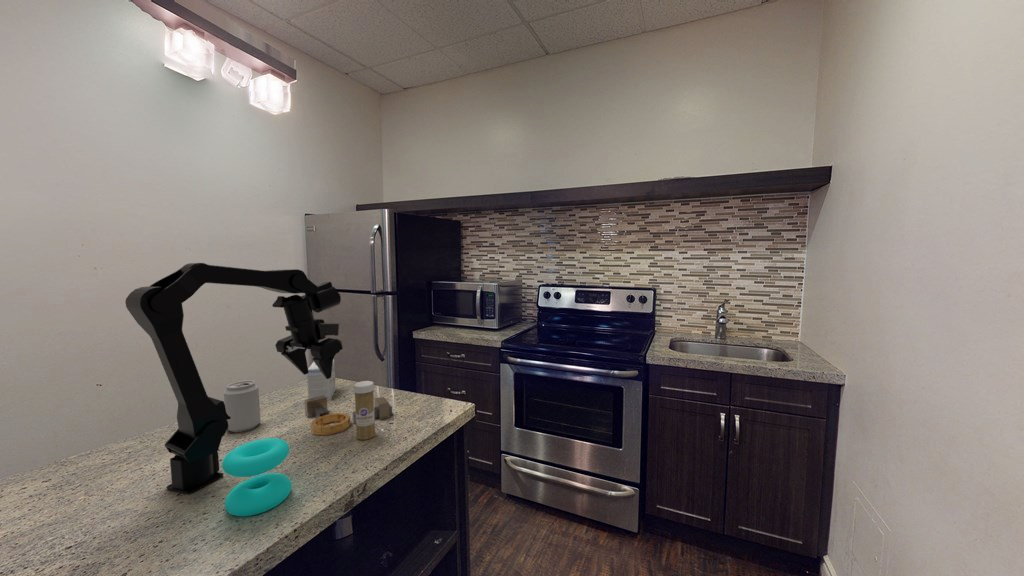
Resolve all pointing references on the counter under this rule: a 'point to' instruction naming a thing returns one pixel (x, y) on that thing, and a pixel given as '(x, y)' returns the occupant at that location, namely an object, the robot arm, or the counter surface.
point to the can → (242, 405)
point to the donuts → (261, 488)
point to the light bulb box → (320, 382)
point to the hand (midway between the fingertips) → (317, 376)
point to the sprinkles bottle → (364, 410)
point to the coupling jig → (338, 415)
